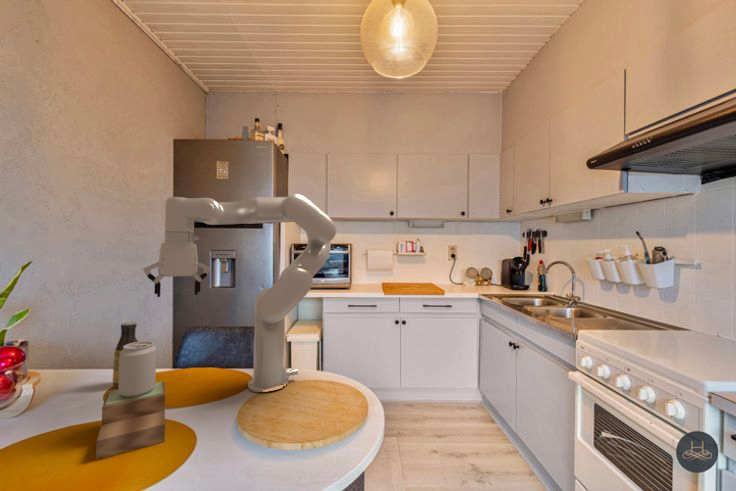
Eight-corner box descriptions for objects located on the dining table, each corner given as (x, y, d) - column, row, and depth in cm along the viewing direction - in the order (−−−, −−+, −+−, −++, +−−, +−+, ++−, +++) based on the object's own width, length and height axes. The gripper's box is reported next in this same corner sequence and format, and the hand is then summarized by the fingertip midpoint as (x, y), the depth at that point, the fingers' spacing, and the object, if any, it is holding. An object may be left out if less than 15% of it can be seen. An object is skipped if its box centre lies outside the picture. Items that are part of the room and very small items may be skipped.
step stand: (163, 411, 85) (164, 380, 85) (164, 441, 72) (165, 405, 72) (106, 424, 79) (107, 391, 79) (96, 460, 65) (97, 420, 65)
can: (136, 400, 74) (137, 349, 74) (110, 397, 75) (111, 347, 76) (162, 387, 81) (163, 340, 82) (138, 384, 83) (139, 338, 83)
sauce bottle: (107, 388, 99) (109, 324, 99) (125, 380, 105) (127, 320, 105) (125, 389, 98) (127, 326, 98) (142, 381, 104) (144, 321, 104)
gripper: (209, 239, 102) (208, 292, 102) (144, 237, 93) (143, 295, 92) (212, 239, 96) (211, 295, 96) (143, 237, 86) (141, 299, 86)
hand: (177, 295), depth 94 cm, fingers open, 9 cm apart
